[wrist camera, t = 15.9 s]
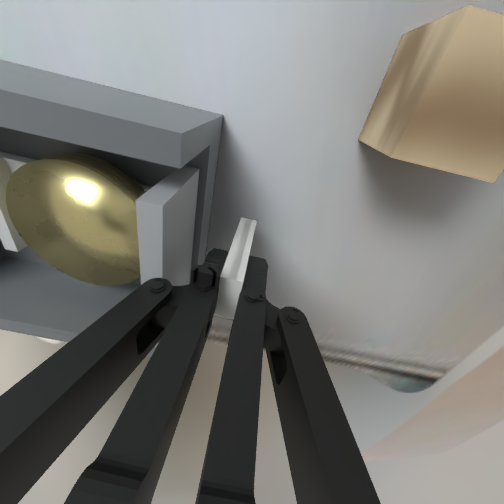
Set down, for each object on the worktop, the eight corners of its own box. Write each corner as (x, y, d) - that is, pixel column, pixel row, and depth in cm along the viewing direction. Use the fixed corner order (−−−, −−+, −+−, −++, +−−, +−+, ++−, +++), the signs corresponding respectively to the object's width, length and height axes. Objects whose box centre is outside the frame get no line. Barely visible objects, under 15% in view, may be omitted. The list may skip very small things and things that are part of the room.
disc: (163, 171, 13) (150, 180, 12) (162, 281, 17) (153, 296, 16) (10, 136, 13) (-21, 141, 11) (50, 257, 17) (31, 271, 16)
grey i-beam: (-63, 106, 13) (-247, 114, 8) (199, 168, 13) (162, 206, 9) (1, 246, 18) (-92, 298, 13) (189, 285, 18) (162, 348, 14)
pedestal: (402, 35, 12) (468, 5, 8) (493, 60, 12) (602, 43, 8) (358, 139, 15) (390, 157, 11) (433, 158, 15) (493, 183, 11)
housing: (-48, 47, 14) (-340, 6, 7) (223, 115, 15) (181, 133, 8) (27, 245, 22) (-82, 313, 15) (202, 282, 23) (171, 362, 16)
